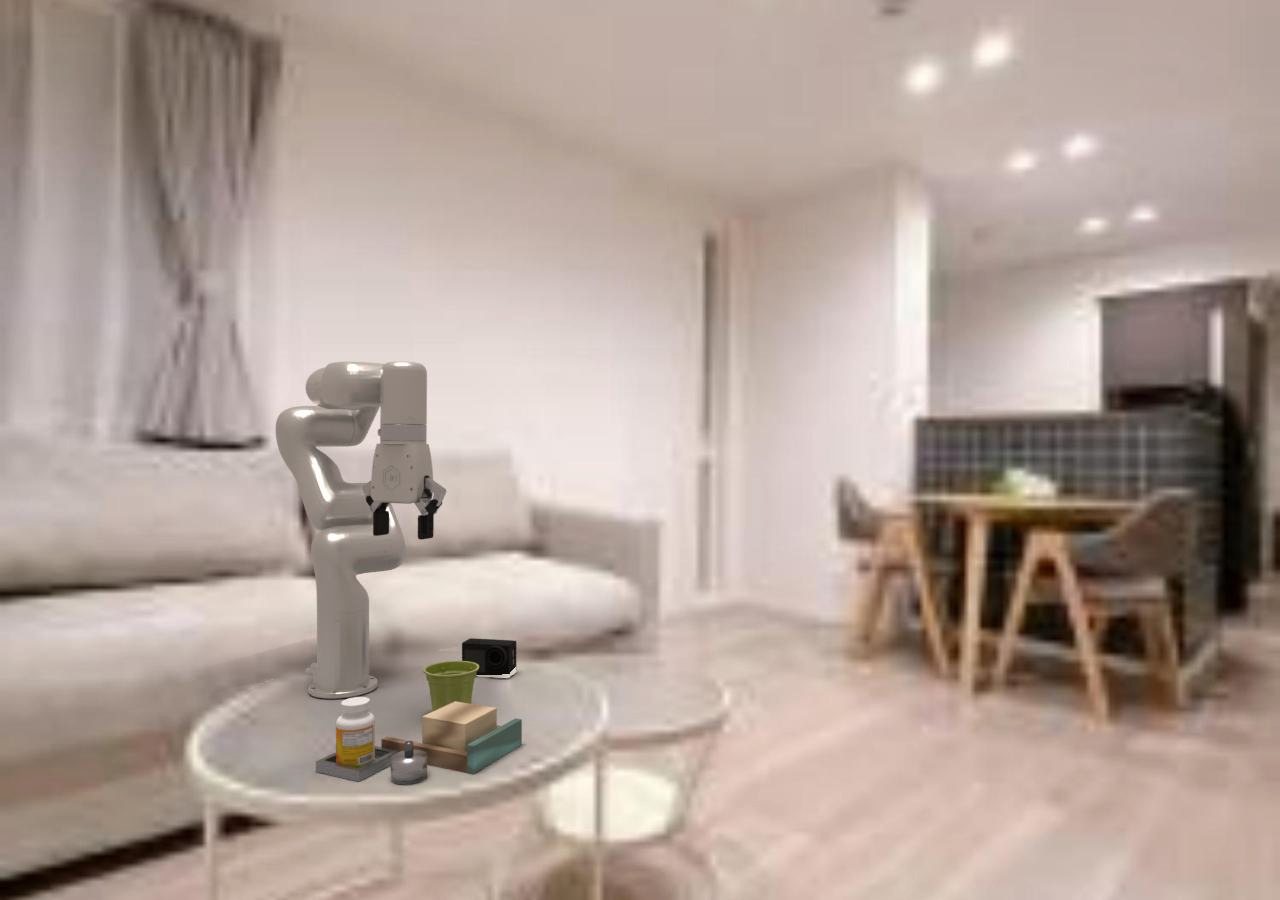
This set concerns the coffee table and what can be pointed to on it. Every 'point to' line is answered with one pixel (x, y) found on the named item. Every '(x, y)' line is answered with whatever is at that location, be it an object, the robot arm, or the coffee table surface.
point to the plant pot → (450, 682)
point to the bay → (463, 737)
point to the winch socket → (382, 765)
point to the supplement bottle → (355, 733)
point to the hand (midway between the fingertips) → (403, 536)
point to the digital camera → (490, 655)
